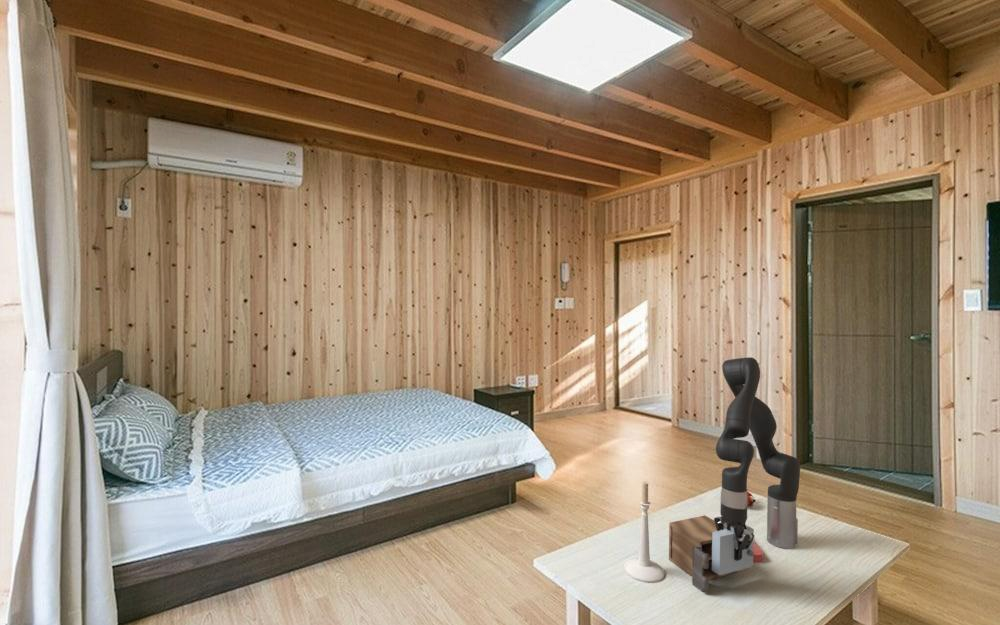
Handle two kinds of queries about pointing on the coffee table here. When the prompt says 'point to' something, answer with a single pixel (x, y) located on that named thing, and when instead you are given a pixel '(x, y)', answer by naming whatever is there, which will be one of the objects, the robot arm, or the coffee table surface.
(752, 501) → the dragon fruit
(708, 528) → the cabinet
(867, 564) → the coffee table surface
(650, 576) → the candlestick
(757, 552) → the plaque
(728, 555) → the door
